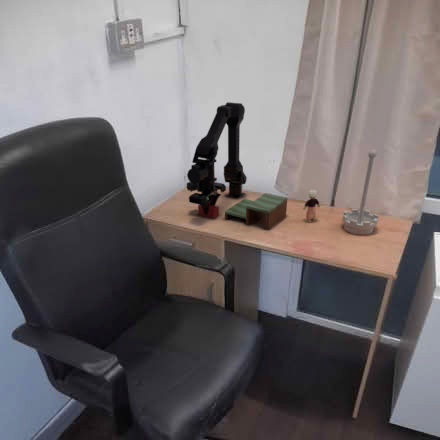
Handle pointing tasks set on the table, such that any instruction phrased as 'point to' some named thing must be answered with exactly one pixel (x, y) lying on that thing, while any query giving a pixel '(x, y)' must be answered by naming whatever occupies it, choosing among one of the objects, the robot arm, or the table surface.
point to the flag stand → (362, 209)
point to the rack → (260, 209)
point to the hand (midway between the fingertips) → (208, 212)
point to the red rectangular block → (209, 211)
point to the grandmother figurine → (311, 206)
